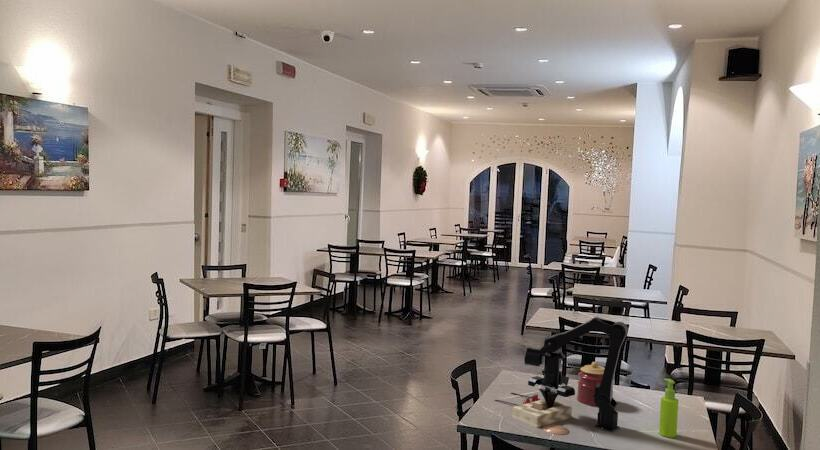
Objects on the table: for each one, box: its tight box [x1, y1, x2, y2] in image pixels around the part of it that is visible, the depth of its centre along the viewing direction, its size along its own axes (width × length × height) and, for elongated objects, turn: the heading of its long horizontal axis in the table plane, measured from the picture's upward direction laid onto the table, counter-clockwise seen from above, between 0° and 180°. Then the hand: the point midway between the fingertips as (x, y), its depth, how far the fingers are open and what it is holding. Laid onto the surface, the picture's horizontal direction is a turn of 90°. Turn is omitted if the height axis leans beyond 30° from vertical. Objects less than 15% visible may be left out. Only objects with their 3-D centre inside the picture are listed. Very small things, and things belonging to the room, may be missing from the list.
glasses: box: [493, 392, 541, 406], centre depth 262 cm, size 14×16×5 cm
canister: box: [576, 361, 605, 408], centre depth 266 cm, size 13×13×18 cm
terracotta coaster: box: [542, 423, 569, 436], centre depth 232 cm, size 9×9×1 cm
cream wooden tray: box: [512, 398, 573, 428], centre depth 244 cm, size 20×12×5 cm, turn 128°
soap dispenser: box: [658, 378, 679, 438], centre depth 233 cm, size 6×7×20 cm
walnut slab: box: [532, 402, 549, 411], centre depth 244 cm, size 8×4×2 cm, turn 128°
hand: (549, 408), depth 247 cm, fingers closed
